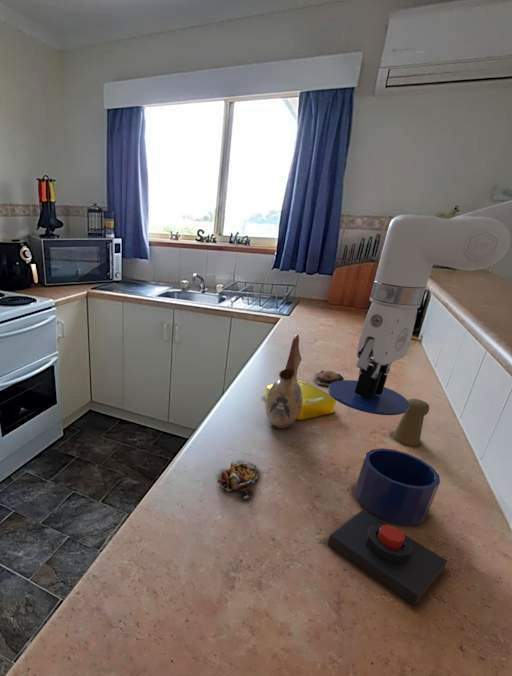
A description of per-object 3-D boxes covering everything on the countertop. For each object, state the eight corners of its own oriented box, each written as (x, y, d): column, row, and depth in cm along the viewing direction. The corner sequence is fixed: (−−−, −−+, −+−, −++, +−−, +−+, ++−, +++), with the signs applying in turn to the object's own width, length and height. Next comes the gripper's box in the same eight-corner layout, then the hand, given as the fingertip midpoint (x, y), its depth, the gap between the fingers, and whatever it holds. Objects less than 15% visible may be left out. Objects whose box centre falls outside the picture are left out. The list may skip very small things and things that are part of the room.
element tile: (296, 421, 108) (299, 405, 106) (261, 398, 121) (264, 383, 119) (336, 412, 114) (340, 397, 112) (299, 391, 126) (302, 377, 125)
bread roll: (342, 390, 129) (345, 380, 128) (315, 384, 132) (317, 374, 131) (342, 378, 138) (345, 368, 137) (317, 373, 141) (319, 364, 140)
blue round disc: (420, 406, 73) (431, 375, 70) (385, 426, 65) (396, 392, 62) (350, 379, 82) (357, 352, 80) (312, 394, 75) (319, 364, 72)
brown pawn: (397, 443, 100) (410, 405, 96) (389, 431, 105) (401, 394, 101) (423, 447, 99) (437, 408, 95) (413, 434, 105) (426, 397, 100)
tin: (436, 508, 78) (450, 472, 75) (408, 535, 71) (422, 498, 68) (373, 474, 87) (383, 442, 84) (342, 496, 80) (352, 461, 77)
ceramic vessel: (269, 407, 115) (283, 324, 105) (301, 415, 111) (319, 329, 102) (255, 433, 101) (271, 340, 92) (291, 443, 98) (312, 347, 88)
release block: (443, 570, 64) (451, 552, 63) (413, 606, 58) (422, 587, 57) (359, 518, 75) (365, 501, 73) (327, 544, 68) (332, 526, 67)
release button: (405, 543, 65) (408, 535, 64) (395, 553, 63) (398, 545, 62) (383, 529, 67) (386, 521, 67) (373, 538, 65) (375, 530, 65)
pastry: (262, 469, 87) (264, 455, 86) (247, 501, 77) (250, 486, 76) (231, 459, 90) (233, 446, 89) (213, 489, 80) (215, 475, 79)
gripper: (397, 304, 59) (365, 413, 66) (440, 295, 68) (408, 392, 75) (349, 294, 64) (325, 396, 71) (395, 287, 73) (369, 378, 80)
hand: (368, 393), depth 73 cm, fingers closed on blue round disc, 2 cm apart
